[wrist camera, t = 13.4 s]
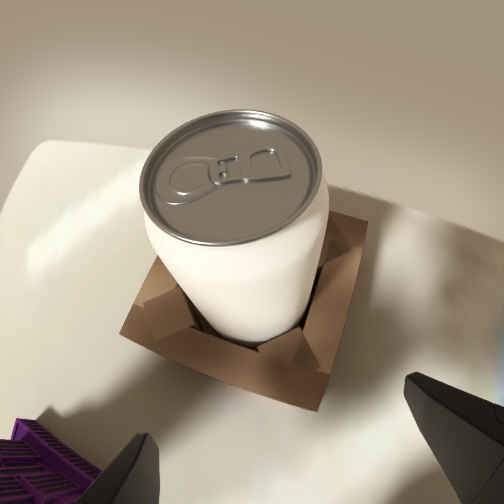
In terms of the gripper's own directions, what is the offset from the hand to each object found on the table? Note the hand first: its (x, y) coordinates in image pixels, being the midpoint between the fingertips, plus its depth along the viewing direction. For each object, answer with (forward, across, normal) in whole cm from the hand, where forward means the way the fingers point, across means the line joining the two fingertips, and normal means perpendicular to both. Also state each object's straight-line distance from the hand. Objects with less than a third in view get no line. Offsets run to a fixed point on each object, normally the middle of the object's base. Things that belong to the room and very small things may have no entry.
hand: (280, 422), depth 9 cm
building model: (+4, +17, +10) cm, 20 cm away
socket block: (+12, 0, +1) cm, 12 cm away
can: (+11, 0, +1) cm, 11 cm away
